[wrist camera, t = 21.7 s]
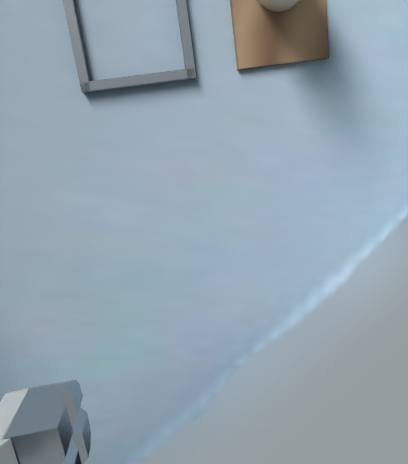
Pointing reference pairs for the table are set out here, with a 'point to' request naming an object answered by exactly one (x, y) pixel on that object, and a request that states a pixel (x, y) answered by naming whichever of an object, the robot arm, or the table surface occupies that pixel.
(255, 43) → the walnut pad
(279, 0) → the cylinder
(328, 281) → the table surface
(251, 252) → the table surface
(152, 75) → the parts tray
